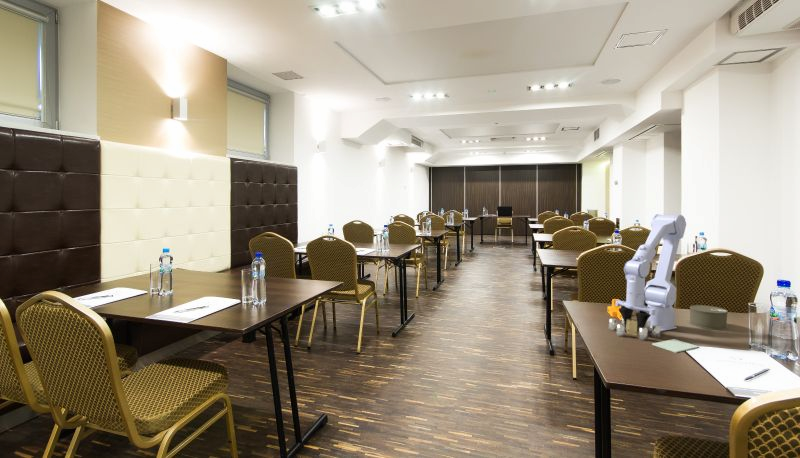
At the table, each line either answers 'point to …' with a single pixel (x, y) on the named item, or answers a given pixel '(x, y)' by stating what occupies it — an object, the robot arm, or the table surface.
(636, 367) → the table surface
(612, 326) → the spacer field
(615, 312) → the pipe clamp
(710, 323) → the can
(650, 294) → the robot arm
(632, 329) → the brass nut
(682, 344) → the pad
